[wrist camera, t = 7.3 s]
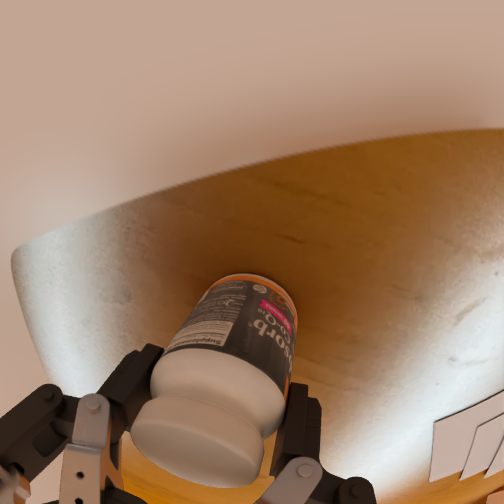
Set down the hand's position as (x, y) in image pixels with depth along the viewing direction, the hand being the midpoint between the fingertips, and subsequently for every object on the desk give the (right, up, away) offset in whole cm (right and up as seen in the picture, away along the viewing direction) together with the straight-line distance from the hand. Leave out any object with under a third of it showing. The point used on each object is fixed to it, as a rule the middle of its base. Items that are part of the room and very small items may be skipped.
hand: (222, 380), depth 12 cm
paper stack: (+32, -16, +6) cm, 36 cm away
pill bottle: (+1, +2, +5) cm, 6 cm away
